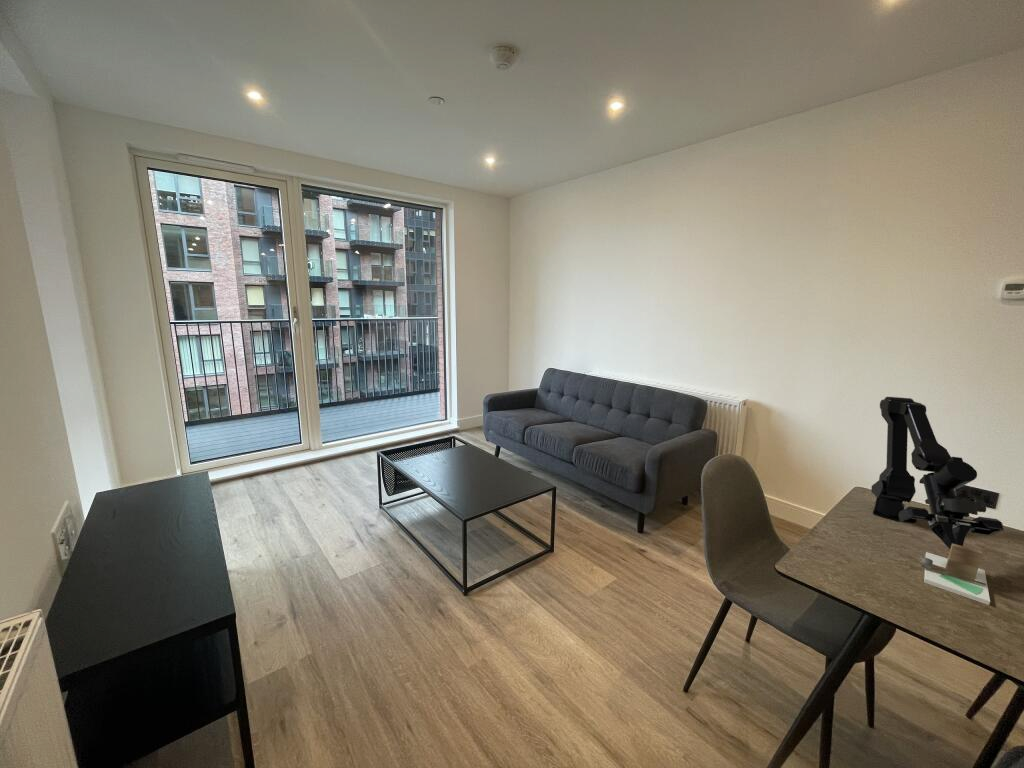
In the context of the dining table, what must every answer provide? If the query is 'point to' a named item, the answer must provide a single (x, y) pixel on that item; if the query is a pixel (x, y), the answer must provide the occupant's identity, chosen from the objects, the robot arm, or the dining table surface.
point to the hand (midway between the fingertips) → (957, 554)
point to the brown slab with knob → (958, 563)
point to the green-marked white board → (957, 581)
